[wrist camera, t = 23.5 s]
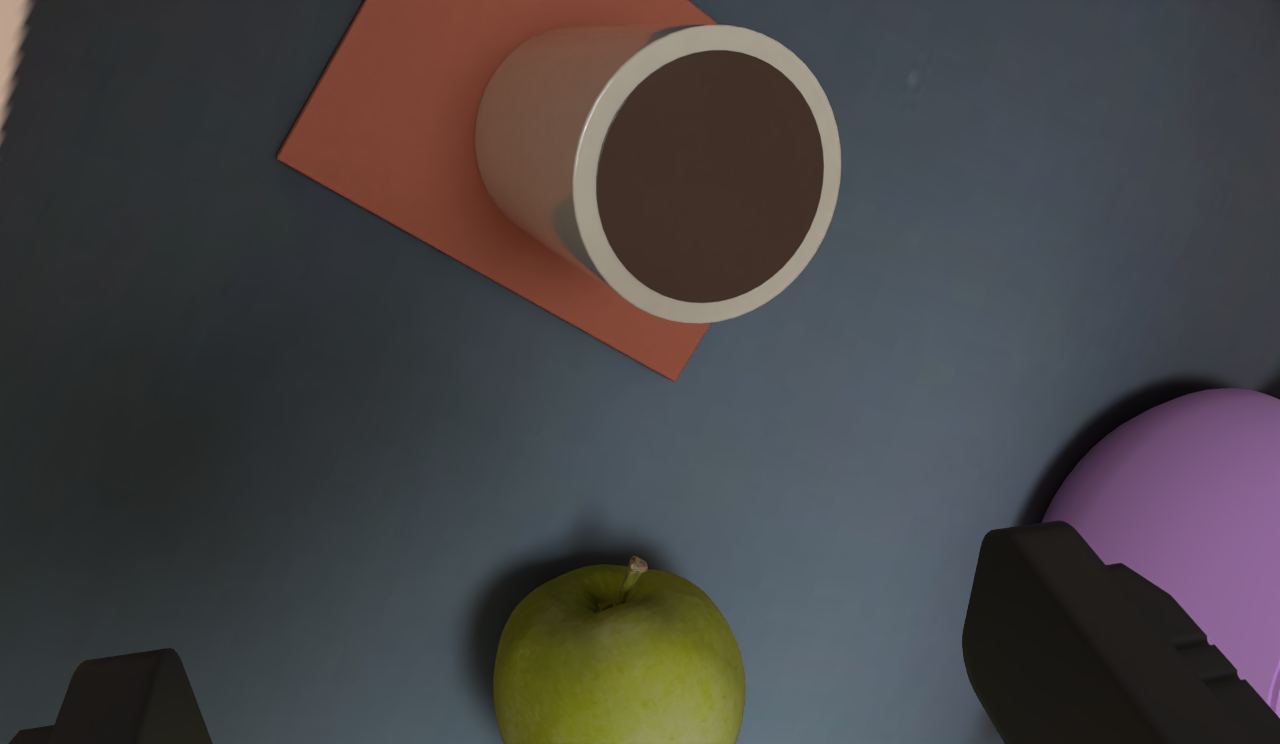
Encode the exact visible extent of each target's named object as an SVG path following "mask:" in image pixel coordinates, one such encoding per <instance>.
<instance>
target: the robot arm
mask: <svg viewBox="0 0 1280 744" xmlns="http://www.w3.org/2000/svg"><path fill="white" fill-rule="evenodd" d="M962 648H963V657H964V662H965V667H966V670H967V674H968V677H969V680H970V683H971V685H972V687H973V690H974V691H975V693H976V695H977V697H978V699H979V700H980V702H981V704H982V706H983V707H984V709H985V711H986V712H987V714H988V716H989V717H990V719H991V721H992V723H993V724H994V726H995V728H996V729H997V731H998V733H999V734H1000V736H1001V738H1002V740H1003V741H1004V743H1005V744H1280V718H1279V717H1278V715H1277V714H1276V713H1275V712H1274V711H1273V710H1272V709H1271V708H1270V706H1269V705H1268V704H1267V703H1266V702H1265V701H1264V700H1263V699H1262V697H1261V696H1260V695H1259V694H1258V693H1257V692H1256V691H1255V689H1254V688H1253V687H1252V686H1251V685H1250V684H1249V683H1248V682H1247V680H1246V679H1243V680H1241V679H1240V678H1239V677H1238V674H1237V671H1238V670H1237V669H1236V668H1235V667H1234V666H1233V665H1232V663H1231V662H1230V661H1229V660H1228V659H1227V658H1226V657H1225V656H1224V654H1223V653H1222V652H1221V651H1220V650H1219V649H1218V648H1217V647H1216V645H1215V644H1214V645H1210V644H1209V643H1208V641H1207V635H1206V634H1205V633H1204V632H1203V631H1202V630H1201V628H1200V627H1199V626H1198V625H1197V624H1196V623H1195V622H1194V621H1193V619H1192V618H1191V617H1190V616H1189V615H1188V614H1187V613H1186V611H1185V610H1184V609H1183V608H1182V607H1181V606H1180V605H1179V604H1178V602H1177V601H1176V600H1175V599H1174V598H1173V597H1172V596H1171V595H1170V594H1169V593H1167V592H1165V591H1164V590H1162V589H1161V588H1159V587H1158V586H1156V585H1155V584H1153V583H1152V582H1150V581H1149V580H1147V579H1146V578H1144V577H1143V576H1141V575H1140V574H1138V573H1136V572H1135V571H1133V570H1132V569H1130V568H1129V567H1127V566H1126V565H1124V564H1123V563H1116V564H1110V565H1105V564H1104V562H1103V561H1102V560H1101V559H1100V558H1099V556H1098V555H1097V554H1096V553H1095V552H1094V551H1093V549H1092V548H1091V547H1090V546H1089V545H1088V543H1087V542H1086V541H1085V540H1084V539H1083V537H1082V536H1081V535H1080V534H1079V533H1078V532H1077V530H1076V529H1075V528H1074V527H1072V526H1071V525H1070V524H1068V523H1066V522H1064V521H1059V520H1057V521H1051V522H1044V523H1037V524H1030V525H1024V526H1017V527H1010V528H1003V529H996V530H991V531H990V532H988V533H987V534H986V535H985V537H984V539H983V541H982V545H981V549H980V553H979V558H978V563H977V567H976V572H975V577H974V582H973V586H972V591H971V596H970V600H969V605H968V610H967V615H966V619H965V624H964V629H963V635H962ZM9 744H212V741H211V739H210V736H209V733H208V730H207V728H206V725H205V722H204V720H203V717H202V714H201V712H200V709H199V706H198V704H197V701H196V698H195V695H194V693H193V690H192V687H191V685H190V682H189V679H188V677H187V674H186V671H185V669H184V666H183V663H182V661H181V659H180V657H179V655H178V653H177V652H176V651H175V650H174V649H171V648H167V649H160V650H154V651H147V652H140V653H133V654H126V655H119V656H113V657H106V658H99V659H92V660H86V661H84V662H82V663H81V664H80V665H79V666H78V667H77V669H76V670H75V672H74V674H73V677H72V679H71V681H70V684H69V687H68V690H67V692H66V695H65V698H64V701H63V703H62V706H61V709H60V712H59V714H58V717H57V720H56V723H55V725H52V726H46V727H39V728H33V729H26V730H20V731H19V732H18V733H17V734H16V736H15V737H14V738H13V739H12V740H11V741H10V743H9Z"/></svg>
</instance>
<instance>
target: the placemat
mask: <svg viewBox="0 0 1280 744" xmlns="http://www.w3.org/2000/svg"><path fill="white" fill-rule="evenodd" d="M568 25H719V24H717V23H716V22H715V21H714V20H712V19H711V18H710V17H709V16H707V15H706V14H705V13H704V12H702V11H701V10H700V9H699V8H697V7H696V6H695V5H694V4H692V3H691V2H690V1H689V0H364V2H363V3H362V5H361V7H360V9H359V10H358V12H357V14H356V16H355V17H354V19H353V21H352V23H351V25H350V26H349V28H348V30H347V32H346V33H345V35H344V37H343V39H342V40H341V42H340V44H339V46H338V47H337V49H336V51H335V53H334V55H333V56H332V58H331V60H330V62H329V63H328V65H327V67H326V69H325V70H324V72H323V74H322V76H321V77H320V79H319V81H318V83H317V85H316V86H315V88H314V90H313V92H312V93H311V95H310V97H309V99H308V100H307V102H306V104H305V106H304V108H303V109H302V111H301V113H300V115H299V116H298V118H297V120H296V122H295V123H294V125H293V127H292V129H291V130H290V132H289V134H288V136H287V138H286V139H285V141H284V143H283V145H282V146H281V148H280V150H279V152H278V153H277V155H276V157H277V159H278V160H279V161H281V162H283V163H285V164H286V165H288V166H290V167H292V168H293V169H295V170H297V171H299V172H301V173H302V174H304V175H306V176H308V177H310V178H311V179H313V180H315V181H317V182H318V183H320V184H322V185H324V186H326V187H327V188H329V189H331V190H333V191H335V192H336V193H338V194H340V195H342V196H343V197H345V198H347V199H349V200H351V201H352V202H354V203H356V204H358V205H359V206H361V207H363V208H365V209H367V210H368V211H370V212H372V213H374V214H376V215H377V216H379V217H381V218H383V219H384V220H386V221H388V222H390V223H392V224H393V225H395V226H397V227H399V228H401V229H402V230H404V231H406V232H408V233H409V234H411V235H413V236H415V237H417V238H418V239H420V240H422V241H424V242H426V243H427V244H429V245H431V246H433V247H434V248H436V249H438V250H440V251H442V252H443V253H445V254H447V255H449V256H450V257H452V258H454V259H456V260H458V261H459V262H461V263H463V264H465V265H467V266H468V267H470V268H472V269H474V270H475V271H477V272H479V273H481V274H483V275H484V276H486V277H488V278H490V279H492V280H493V281H495V282H497V283H499V284H500V285H502V286H504V287H506V288H508V289H509V290H511V291H513V292H515V293H516V294H518V295H520V296H522V297H524V298H525V299H527V300H529V301H531V302H533V303H534V304H536V305H538V306H540V307H541V308H543V309H545V310H547V311H549V312H550V313H552V314H554V315H556V316H558V317H559V318H561V319H563V320H565V321H566V322H568V323H570V324H572V325H574V326H575V327H577V328H579V329H581V330H582V331H584V332H586V333H588V334H590V335H591V336H593V337H595V338H597V339H599V340H600V341H602V342H604V343H606V344H607V345H609V346H611V347H613V348H615V349H616V350H618V351H620V352H622V353H624V354H625V355H627V356H629V357H631V358H632V359H634V360H636V361H638V362H640V363H641V364H643V365H645V366H647V367H648V368H650V369H652V370H654V371H656V372H657V373H659V374H661V375H663V376H665V377H666V378H668V379H670V380H672V381H673V382H675V381H676V380H677V378H678V377H679V375H680V373H681V372H682V370H683V368H684V367H685V365H686V363H687V362H688V360H689V359H690V357H691V355H692V354H693V352H694V350H695V349H696V347H697V346H698V344H699V342H700V341H701V339H702V337H703V336H704V334H705V332H706V331H707V329H708V328H709V326H710V324H711V323H703V324H693V323H680V322H674V321H668V320H665V319H662V318H659V317H656V316H653V315H650V314H648V313H646V312H644V311H642V310H640V309H638V308H636V307H635V306H633V305H632V304H630V303H629V302H627V301H626V300H624V299H623V298H622V297H620V296H619V295H617V294H616V293H614V292H613V291H611V290H610V289H608V288H607V287H605V286H604V285H602V284H601V283H599V282H598V281H596V280H595V279H593V278H592V277H590V276H589V275H587V274H586V273H584V272H583V271H582V270H580V269H579V268H577V267H576V266H574V265H573V264H571V263H570V262H568V261H567V260H565V259H564V258H562V257H561V256H559V255H558V254H556V253H555V252H553V251H552V250H550V249H549V248H547V247H546V246H544V245H543V244H542V243H540V242H539V241H537V240H536V239H534V238H533V237H531V236H530V235H528V234H527V233H525V232H524V231H522V230H521V229H520V228H518V227H517V226H515V225H514V224H513V223H512V222H511V221H510V220H509V219H508V218H507V217H506V216H505V215H504V214H503V213H502V212H501V210H500V209H499V208H498V207H497V206H496V204H495V202H494V201H493V199H492V198H491V196H490V195H489V193H488V191H487V188H486V186H485V184H484V182H483V179H482V176H481V173H480V170H479V167H478V161H477V156H476V147H475V130H476V119H477V115H478V110H479V105H480V103H481V100H482V97H483V94H484V91H485V89H486V87H487V85H488V83H489V81H490V79H491V77H492V76H493V74H494V73H495V71H496V70H497V68H498V67H499V66H500V64H501V63H502V62H503V61H504V60H505V59H506V58H507V56H508V55H509V54H510V53H512V52H513V51H514V50H515V49H516V48H517V47H519V46H520V45H521V44H522V43H524V42H526V41H527V40H529V39H530V38H532V37H534V36H536V35H538V34H540V33H542V32H544V31H547V30H550V29H554V28H557V27H561V26H568ZM834 118H835V117H834ZM835 120H836V118H835Z"/></svg>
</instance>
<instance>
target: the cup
mask: <svg viewBox="0 0 1280 744" xmlns="http://www.w3.org/2000/svg"><path fill="white" fill-rule="evenodd" d="M475 147H476V156H477V161H478V167H479V170H480V173H481V176H482V179H483V182H484V184H485V186H486V188H487V191H488V193H489V195H490V196H491V198H492V199H493V201H494V202H495V204H496V206H497V207H498V208H499V209H500V210H501V212H502V213H503V214H504V215H505V216H506V217H507V218H508V219H509V220H510V221H511V222H512V223H513V224H514V225H515V226H517V227H518V228H520V229H521V230H522V231H524V232H525V233H527V234H528V235H530V236H531V237H533V238H534V239H536V240H537V241H539V242H540V243H542V244H543V245H544V246H546V247H547V248H549V249H550V250H552V251H553V252H555V253H556V254H558V255H559V256H561V257H562V258H564V259H565V260H567V261H568V262H570V263H571V264H573V265H574V266H576V267H577V268H579V269H580V270H582V271H583V272H584V273H586V274H587V275H589V276H590V277H592V278H593V279H595V280H596V281H598V282H599V283H601V284H602V285H604V286H605V287H607V288H608V289H610V290H611V291H613V292H614V293H616V294H617V295H619V296H620V297H622V298H623V299H624V300H626V301H627V302H629V303H630V304H632V305H633V306H635V307H636V308H638V309H640V310H642V311H644V312H646V313H648V314H650V315H653V316H656V317H659V318H662V319H665V320H668V321H674V322H680V323H693V324H703V323H712V322H719V321H723V320H727V319H731V318H735V317H738V316H740V315H743V314H745V313H748V312H750V311H752V310H754V309H756V308H758V307H760V306H762V305H763V304H765V303H767V302H768V301H770V300H771V299H772V298H774V297H775V296H777V295H778V294H779V293H781V292H782V291H783V290H784V289H785V288H786V287H787V286H788V285H790V284H791V283H792V282H793V281H794V280H795V279H796V277H797V276H798V275H799V274H800V273H801V272H802V271H803V269H804V268H805V267H806V266H807V264H808V263H809V261H810V260H811V259H812V257H813V256H814V254H815V253H816V251H817V249H818V247H819V246H820V244H821V242H822V240H823V238H824V236H825V234H826V232H827V229H828V227H829V224H830V222H831V219H832V216H833V213H834V209H835V206H836V202H837V197H838V192H839V186H840V176H841V149H840V141H839V135H838V128H837V125H836V121H835V118H834V114H833V111H832V108H831V106H830V104H829V101H828V99H827V97H826V94H825V93H824V91H823V89H822V87H821V86H820V84H819V82H818V81H817V79H816V77H815V76H814V75H813V74H812V72H811V71H810V70H809V69H808V67H807V66H806V65H805V64H804V63H803V62H802V61H801V60H800V59H799V58H798V57H797V56H796V55H795V54H794V53H793V52H792V51H791V50H789V49H788V48H786V47H785V46H783V45H782V44H781V43H779V42H778V41H776V40H774V39H772V38H770V37H768V36H766V35H764V34H762V33H760V32H756V31H753V30H750V29H747V28H744V27H738V26H731V25H568V26H561V27H557V28H554V29H550V30H547V31H544V32H542V33H540V34H538V35H536V36H534V37H532V38H530V39H529V40H527V41H526V42H524V43H522V44H521V45H520V46H519V47H517V48H516V49H515V50H514V51H513V52H512V53H510V54H509V55H508V56H507V58H506V59H505V60H504V61H503V62H502V63H501V64H500V66H499V67H498V68H497V70H496V71H495V73H494V74H493V76H492V77H491V79H490V81H489V83H488V85H487V87H486V89H485V91H484V94H483V97H482V100H481V103H480V105H479V110H478V115H477V119H476V130H475Z"/></svg>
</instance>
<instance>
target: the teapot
mask: <svg viewBox="0 0 1280 744" xmlns="http://www.w3.org/2000/svg"><path fill="white" fill-rule="evenodd" d="M1057 520H1059V521H1064V522H1066V523H1068V524H1070V525H1071V526H1072V527H1074V528H1075V529H1076V530H1077V532H1078V533H1079V534H1080V535H1081V536H1082V537H1083V539H1084V540H1085V541H1086V542H1087V543H1088V545H1089V546H1090V547H1091V548H1092V549H1093V551H1094V552H1095V553H1096V554H1097V555H1098V556H1099V558H1100V559H1101V560H1102V561H1103V562H1104V564H1105V565H1110V564H1116V563H1123V564H1124V565H1126V566H1127V567H1129V568H1130V569H1132V570H1133V571H1135V572H1136V573H1138V574H1140V575H1141V576H1143V577H1144V578H1146V579H1147V580H1149V581H1150V582H1152V583H1153V584H1155V585H1156V586H1158V587H1159V588H1161V589H1162V590H1164V591H1165V592H1167V593H1169V594H1170V595H1171V596H1172V597H1173V598H1174V599H1175V600H1176V601H1177V602H1178V604H1179V605H1180V606H1181V607H1182V608H1183V609H1184V610H1185V611H1186V613H1187V614H1188V615H1189V616H1190V617H1191V618H1192V619H1193V621H1194V622H1195V623H1196V624H1197V625H1198V626H1199V627H1200V628H1201V630H1202V631H1203V632H1204V633H1205V634H1206V635H1207V641H1208V643H1209V644H1210V645H1214V644H1215V645H1216V647H1217V648H1218V649H1219V650H1220V651H1221V652H1222V653H1223V654H1224V656H1225V657H1226V658H1227V659H1228V660H1229V661H1230V662H1231V663H1232V665H1233V666H1234V667H1235V668H1236V669H1237V670H1238V671H1237V674H1238V677H1239V678H1240V679H1241V680H1243V679H1246V680H1247V682H1248V683H1249V684H1250V685H1251V686H1252V687H1253V688H1254V689H1255V691H1256V692H1257V693H1258V694H1259V695H1260V696H1261V697H1262V699H1263V700H1264V701H1265V702H1266V703H1267V704H1268V705H1269V706H1270V708H1271V709H1272V710H1273V711H1274V712H1275V713H1276V714H1277V715H1278V717H1279V718H1280V399H1277V398H1275V397H1272V396H1270V395H1267V394H1264V393H1261V392H1257V391H1254V390H1249V389H1239V388H1221V389H1209V390H1203V391H1199V392H1194V393H1190V394H1187V395H1184V396H1181V397H1178V398H1176V399H1173V400H1171V401H1168V402H1166V403H1163V404H1161V405H1158V406H1156V407H1154V408H1151V409H1149V410H1147V411H1145V412H1143V413H1142V414H1140V415H1138V416H1136V417H1134V418H1132V419H1130V420H1129V421H1127V422H1125V423H1123V424H1122V425H1120V426H1119V427H1117V428H1116V429H1114V430H1113V431H1112V432H1110V433H1109V434H1107V435H1106V436H1105V437H1104V438H1103V439H1102V440H1100V441H1099V442H1098V443H1097V444H1096V445H1095V446H1094V447H1093V448H1092V449H1091V450H1090V451H1089V452H1088V453H1087V454H1086V455H1085V456H1084V457H1083V458H1082V459H1081V460H1080V461H1079V462H1078V464H1077V465H1076V466H1075V467H1074V469H1073V470H1072V471H1071V472H1070V474H1069V475H1068V476H1067V478H1066V479H1065V480H1064V482H1063V483H1062V485H1061V487H1060V488H1059V490H1058V491H1057V493H1056V494H1055V496H1054V498H1053V500H1052V501H1051V503H1050V505H1049V507H1048V509H1047V511H1046V513H1045V515H1044V518H1043V520H1042V522H1041V523H1044V522H1051V521H1057Z"/></svg>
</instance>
